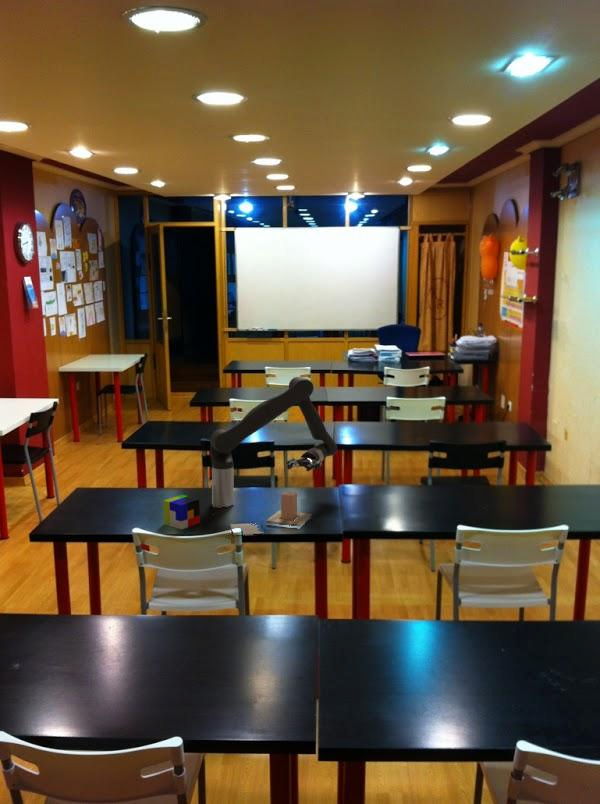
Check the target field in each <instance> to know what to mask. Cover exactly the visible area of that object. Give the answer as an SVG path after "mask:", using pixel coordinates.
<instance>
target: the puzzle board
mask: <svg viewBox="0 0 600 804" xmlns="http://www.w3.org/2000/svg"><path fill="white" fill-rule="evenodd" d="M310 515H311V516H312V513H303V512H297V517H298V518H297V519H296V520H295V521H291V520H283V519H281V509H280V510H278V511H277V512H276V513H275V514H273V515H272V516H271V517H269V518H268V519H267V520H266V524H267V523H269V524H279V525H289V526H290V525H291V526H300V525H301V524H302V523H303V522H304V521H305V520H306V519H307V518H308V517H309V516H310Z"/></svg>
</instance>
